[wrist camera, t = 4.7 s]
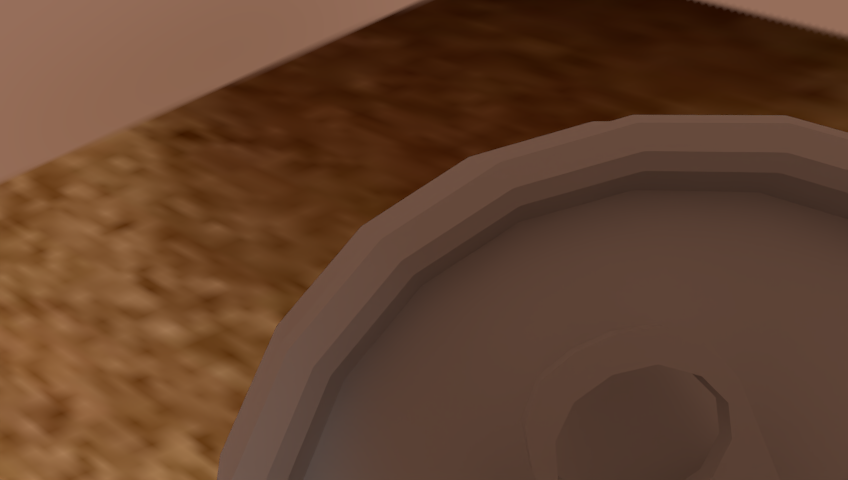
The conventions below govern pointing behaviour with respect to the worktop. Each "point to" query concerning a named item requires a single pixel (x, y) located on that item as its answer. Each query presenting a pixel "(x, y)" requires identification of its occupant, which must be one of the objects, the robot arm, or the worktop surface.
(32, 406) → the worktop surface
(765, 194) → the can
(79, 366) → the worktop surface
